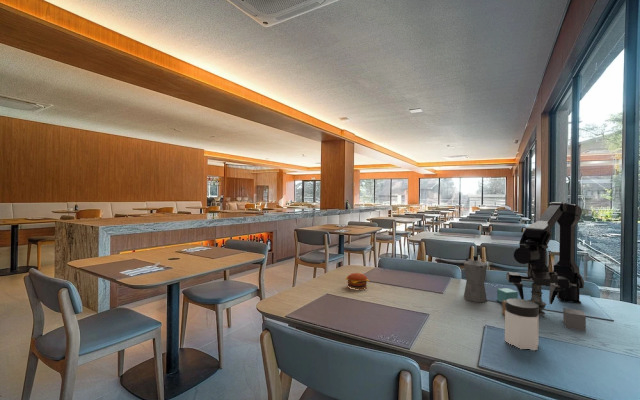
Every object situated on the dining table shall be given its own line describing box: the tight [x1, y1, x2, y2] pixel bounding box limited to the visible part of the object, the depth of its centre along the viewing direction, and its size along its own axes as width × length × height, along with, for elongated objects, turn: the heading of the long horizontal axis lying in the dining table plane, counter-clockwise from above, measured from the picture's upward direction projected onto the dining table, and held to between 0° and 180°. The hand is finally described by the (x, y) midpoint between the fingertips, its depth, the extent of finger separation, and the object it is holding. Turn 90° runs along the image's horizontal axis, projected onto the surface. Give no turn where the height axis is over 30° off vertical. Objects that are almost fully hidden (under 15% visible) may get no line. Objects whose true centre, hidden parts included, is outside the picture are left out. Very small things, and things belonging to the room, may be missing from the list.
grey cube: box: [562, 307, 587, 332], centre depth 100 cm, size 5×5×5 cm
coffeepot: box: [463, 255, 488, 303], centre depth 128 cm, size 15×9×18 cm, turn 176°
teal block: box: [496, 287, 519, 304], centre depth 122 cm, size 5×5×5 cm
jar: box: [504, 298, 540, 351], centre depth 88 cm, size 9×8×12 cm
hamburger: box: [344, 272, 370, 290], centre depth 143 cm, size 9×10×7 cm
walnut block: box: [501, 300, 506, 316], centre depth 108 cm, size 5×5×5 cm
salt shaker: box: [527, 282, 547, 316], centre depth 112 cm, size 6×6×12 cm
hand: (536, 302), depth 112 cm, fingers closed on salt shaker, 8 cm apart
